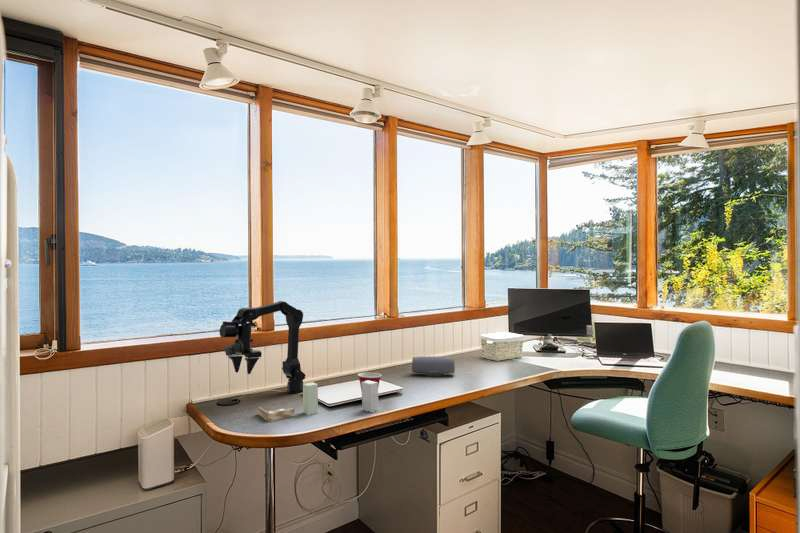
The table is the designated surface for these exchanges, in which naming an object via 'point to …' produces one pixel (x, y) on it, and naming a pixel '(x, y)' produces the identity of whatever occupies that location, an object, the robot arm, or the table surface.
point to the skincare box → (370, 396)
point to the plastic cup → (369, 377)
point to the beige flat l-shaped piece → (275, 414)
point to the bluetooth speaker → (433, 365)
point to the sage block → (310, 398)
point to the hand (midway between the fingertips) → (242, 373)
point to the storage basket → (501, 346)
